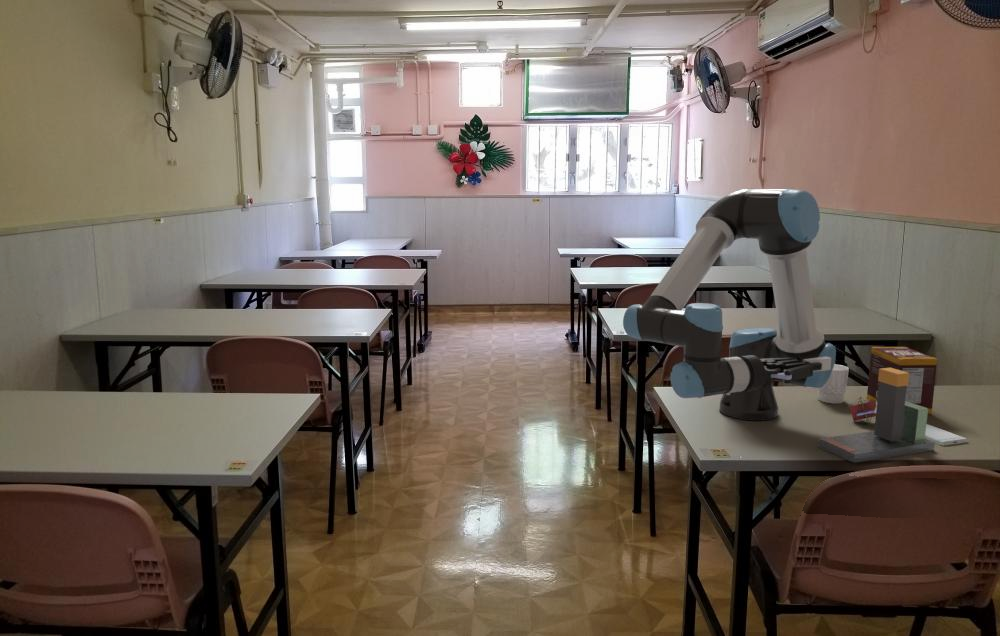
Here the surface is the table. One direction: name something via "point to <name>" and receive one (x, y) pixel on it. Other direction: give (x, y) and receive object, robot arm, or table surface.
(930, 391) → the supplement box
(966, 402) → the table surface
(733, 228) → the robot arm
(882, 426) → the lever
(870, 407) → the geometric puzzle
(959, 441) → the hard drive
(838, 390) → the white cup
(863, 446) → the grey base stand
